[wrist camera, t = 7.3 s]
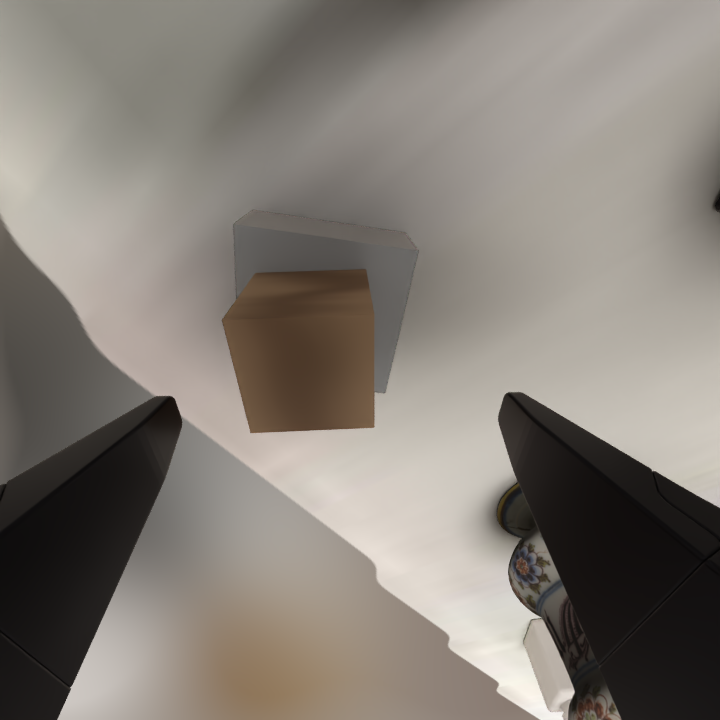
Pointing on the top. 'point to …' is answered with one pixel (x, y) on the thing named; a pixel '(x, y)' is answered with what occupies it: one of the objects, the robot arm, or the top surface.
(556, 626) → the apothecary jar
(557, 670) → the medicine bottle
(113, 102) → the top surface
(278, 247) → the stoneware block
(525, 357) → the top surface
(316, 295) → the walnut cube
